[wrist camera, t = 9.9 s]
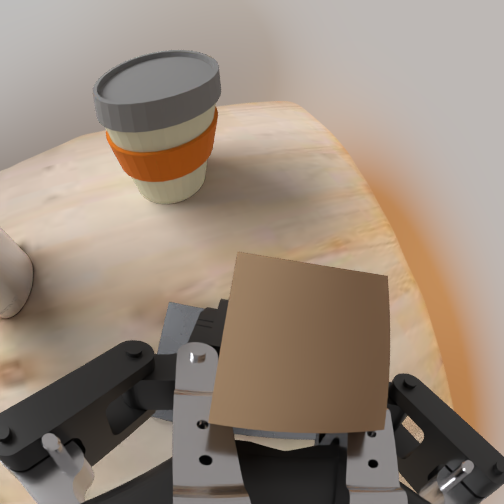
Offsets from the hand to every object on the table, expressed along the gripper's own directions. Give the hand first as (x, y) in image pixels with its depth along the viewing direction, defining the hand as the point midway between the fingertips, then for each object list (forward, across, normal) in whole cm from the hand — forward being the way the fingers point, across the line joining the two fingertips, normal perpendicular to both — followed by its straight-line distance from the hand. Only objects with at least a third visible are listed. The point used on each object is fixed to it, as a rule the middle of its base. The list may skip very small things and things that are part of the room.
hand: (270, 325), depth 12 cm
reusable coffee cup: (+24, +13, -4) cm, 27 cm away
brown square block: (+2, 0, +5) cm, 5 cm away
